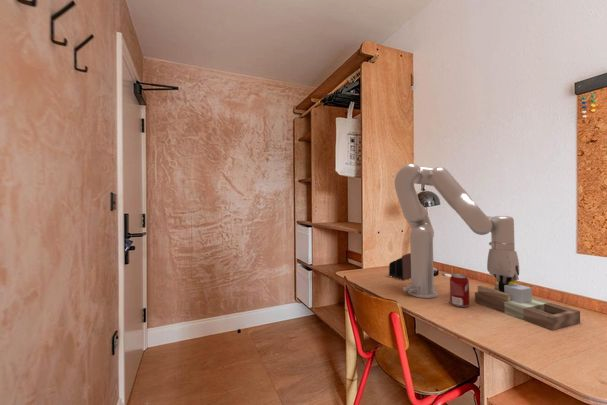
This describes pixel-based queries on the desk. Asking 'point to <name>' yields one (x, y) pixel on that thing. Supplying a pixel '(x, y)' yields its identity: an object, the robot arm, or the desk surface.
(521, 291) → the block
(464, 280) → the soda can
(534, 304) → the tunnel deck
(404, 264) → the letter holder
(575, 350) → the desk surface
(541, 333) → the desk surface
